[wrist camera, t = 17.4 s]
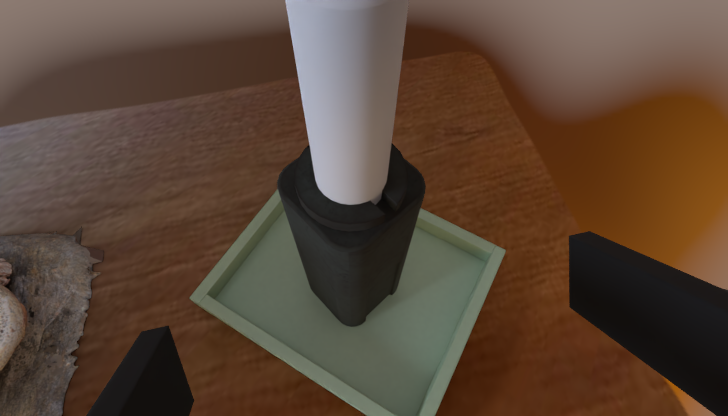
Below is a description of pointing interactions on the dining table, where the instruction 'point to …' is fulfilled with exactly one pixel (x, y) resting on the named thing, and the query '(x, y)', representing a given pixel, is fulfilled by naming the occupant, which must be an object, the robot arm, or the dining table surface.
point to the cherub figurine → (41, 318)
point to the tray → (383, 324)
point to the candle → (350, 154)
